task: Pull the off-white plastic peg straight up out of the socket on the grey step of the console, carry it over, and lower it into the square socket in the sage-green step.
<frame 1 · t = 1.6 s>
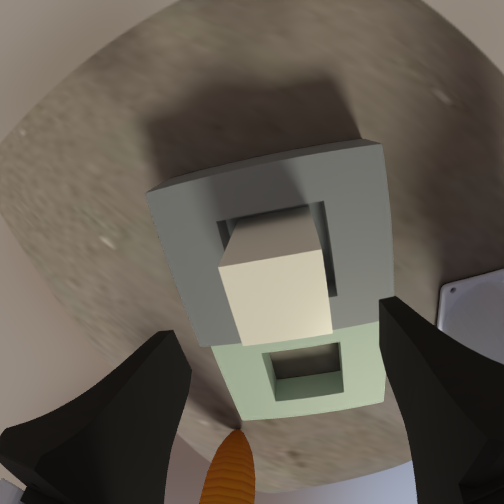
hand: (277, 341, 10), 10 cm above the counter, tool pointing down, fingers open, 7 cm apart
carrot: (238, 428, 29), on the counter
console: (294, 300, 22), on the counter
peg: (280, 245, 18), point 2 cm above the counter, touching console
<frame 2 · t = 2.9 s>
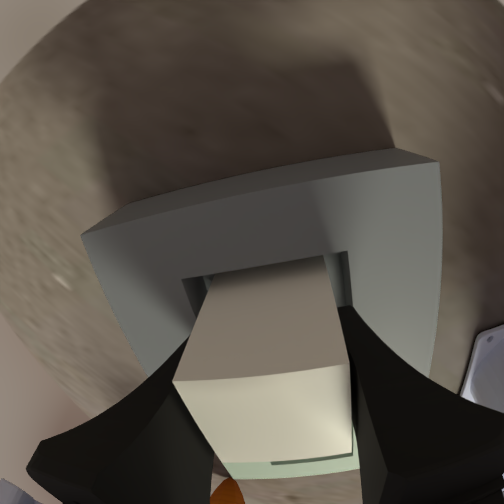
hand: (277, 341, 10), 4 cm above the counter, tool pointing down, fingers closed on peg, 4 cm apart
carrot: (231, 476, 23), on the counter
console: (296, 358, 16), on the counter
peg: (278, 303, 13), point 2 cm above the counter, touching console, gripper
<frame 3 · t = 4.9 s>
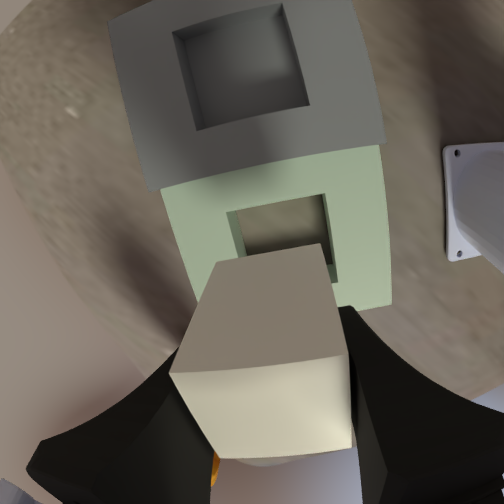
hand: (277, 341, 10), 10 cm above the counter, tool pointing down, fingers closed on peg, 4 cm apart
console: (267, 154, 18), on the counter
peg: (277, 297, 13), point 8 cm above the counter, touching gripper
when the fingers open (3 cm above the counter, at t = 6.9 s): peg drops 1 cm, resting in console.
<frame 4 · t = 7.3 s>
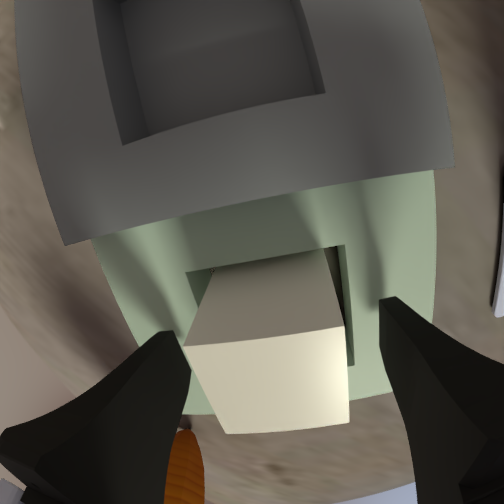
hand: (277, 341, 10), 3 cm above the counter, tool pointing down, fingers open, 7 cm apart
carrot: (189, 427, 19), on the counter
console: (252, 175, 12), on the counter
peg: (279, 285, 14), resting in console
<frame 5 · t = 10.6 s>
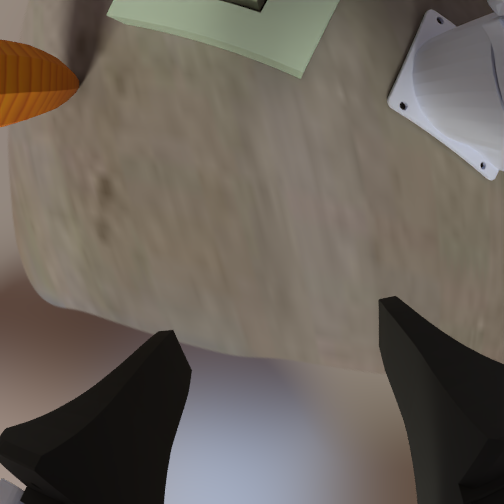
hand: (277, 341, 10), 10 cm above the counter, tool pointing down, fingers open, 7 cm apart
carrot: (78, 86, 17), on the counter
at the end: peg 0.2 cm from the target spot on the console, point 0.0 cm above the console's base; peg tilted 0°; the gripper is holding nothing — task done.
